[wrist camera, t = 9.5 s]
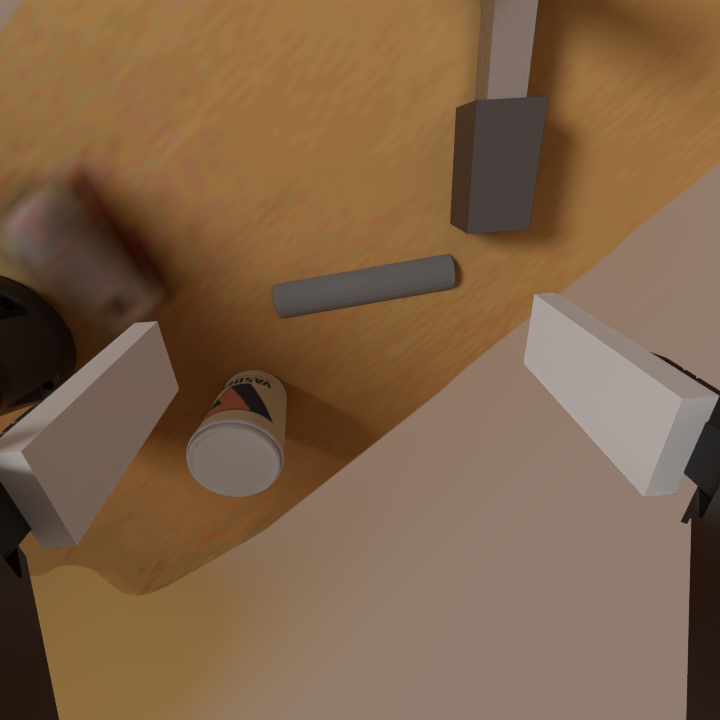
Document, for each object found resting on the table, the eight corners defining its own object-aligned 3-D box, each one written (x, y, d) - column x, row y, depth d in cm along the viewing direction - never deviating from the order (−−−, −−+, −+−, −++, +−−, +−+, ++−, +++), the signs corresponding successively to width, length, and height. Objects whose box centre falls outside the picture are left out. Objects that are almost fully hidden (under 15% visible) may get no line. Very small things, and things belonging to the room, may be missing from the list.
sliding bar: (461, 176, 37) (539, 190, 23) (480, -131, 28) (630, -422, 14) (507, 173, 37) (613, 185, 23) (541, -134, 28) (752, -424, 14)
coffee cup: (284, 357, 46) (269, 418, 36) (301, 420, 51) (292, 492, 40) (206, 369, 46) (168, 434, 36) (230, 431, 51) (202, 505, 40)
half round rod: (452, 288, 44) (456, 293, 42) (281, 318, 44) (279, 324, 43) (450, 250, 42) (454, 254, 40) (271, 282, 42) (269, 287, 41)
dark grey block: (450, 223, 40) (467, 233, 35) (456, 107, 35) (476, 100, 30) (504, 219, 40) (529, 229, 35) (517, 104, 36) (548, 95, 30)
